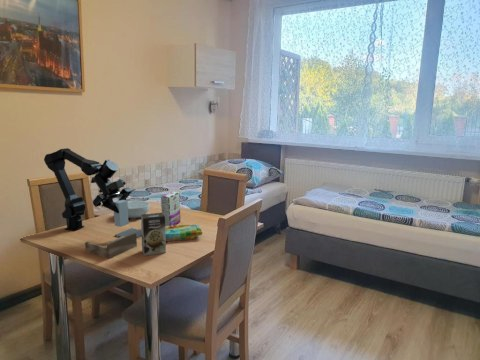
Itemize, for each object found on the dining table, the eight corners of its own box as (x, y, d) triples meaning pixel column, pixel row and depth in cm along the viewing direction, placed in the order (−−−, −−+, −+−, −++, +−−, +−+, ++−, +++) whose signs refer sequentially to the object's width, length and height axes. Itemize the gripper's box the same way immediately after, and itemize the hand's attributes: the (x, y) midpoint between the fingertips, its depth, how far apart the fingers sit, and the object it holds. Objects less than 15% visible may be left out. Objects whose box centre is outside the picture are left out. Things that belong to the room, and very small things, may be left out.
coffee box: (144, 256, 146) (142, 218, 142) (141, 250, 152) (140, 214, 148) (166, 252, 149) (165, 216, 146) (163, 247, 155) (162, 211, 152)
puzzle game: (157, 225, 170) (198, 222, 175) (157, 234, 171) (198, 231, 176) (157, 233, 159) (202, 230, 164) (158, 243, 160) (202, 240, 165)
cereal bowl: (145, 221, 190) (144, 208, 188) (114, 220, 190) (113, 208, 188) (153, 212, 206) (152, 200, 205) (124, 211, 206) (124, 199, 205)
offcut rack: (85, 251, 149) (84, 238, 148) (113, 240, 162) (112, 227, 161) (109, 258, 143) (108, 244, 142) (136, 246, 156) (136, 233, 155)
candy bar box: (172, 220, 191) (171, 191, 188) (180, 222, 189) (180, 192, 186) (161, 227, 180) (160, 196, 177) (170, 228, 179) (169, 196, 176)
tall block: (114, 225, 161) (113, 202, 159) (123, 222, 166) (121, 199, 163) (120, 226, 160) (118, 203, 157) (128, 223, 164) (127, 200, 162)
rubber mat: (114, 236, 168) (114, 234, 167) (131, 229, 177) (131, 228, 177) (132, 240, 163) (132, 239, 162) (148, 233, 172) (148, 231, 172)
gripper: (95, 177, 152) (115, 205, 149) (128, 170, 168) (146, 196, 165) (84, 192, 157) (103, 220, 154) (117, 184, 173) (135, 210, 170)
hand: (123, 211), depth 161 cm, fingers closed on tall block, 5 cm apart
